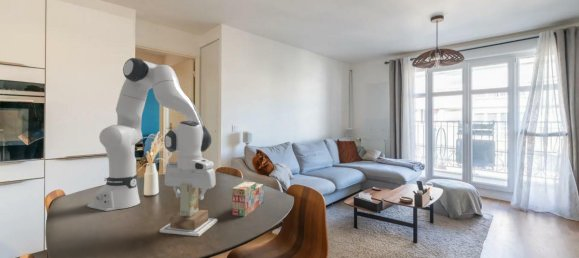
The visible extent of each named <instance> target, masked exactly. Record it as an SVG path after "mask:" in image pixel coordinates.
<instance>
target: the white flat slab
mask: <svg viewBox="0 0 579 258" xmlns="http://www.w3.org/2000/svg"><path fill="white" fill-rule="evenodd" d="M216 223H218V219H217V218H210V217H208V221H207V222H205V223H204V224H203V225H201V226H200V227H199V228H197V229H196V230H195V231H194V230H185V229H175V228H170V223H168V224H166V225H165V226H163V227H162V228H160V229H159V233H165V234H175V235H183V236H192V237H201V236H202V235H203V234H204V233H205V232H206V231H207V230H209V229H210V228H211V227H212V226H214V225H215V224H216Z"/></svg>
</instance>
